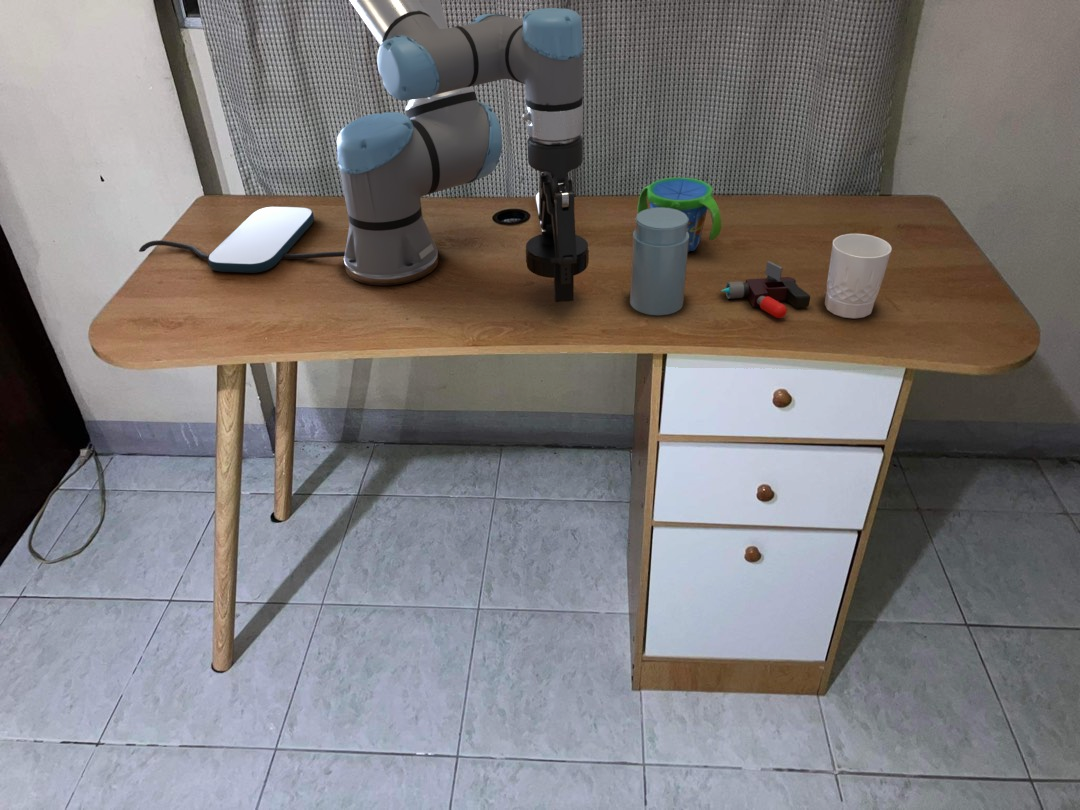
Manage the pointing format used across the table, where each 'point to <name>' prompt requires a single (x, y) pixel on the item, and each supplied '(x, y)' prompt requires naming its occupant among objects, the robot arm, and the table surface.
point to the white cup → (855, 274)
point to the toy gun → (770, 291)
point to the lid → (552, 255)
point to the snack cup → (684, 204)
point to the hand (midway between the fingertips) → (557, 285)
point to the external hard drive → (261, 240)
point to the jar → (659, 261)
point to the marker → (538, 205)
